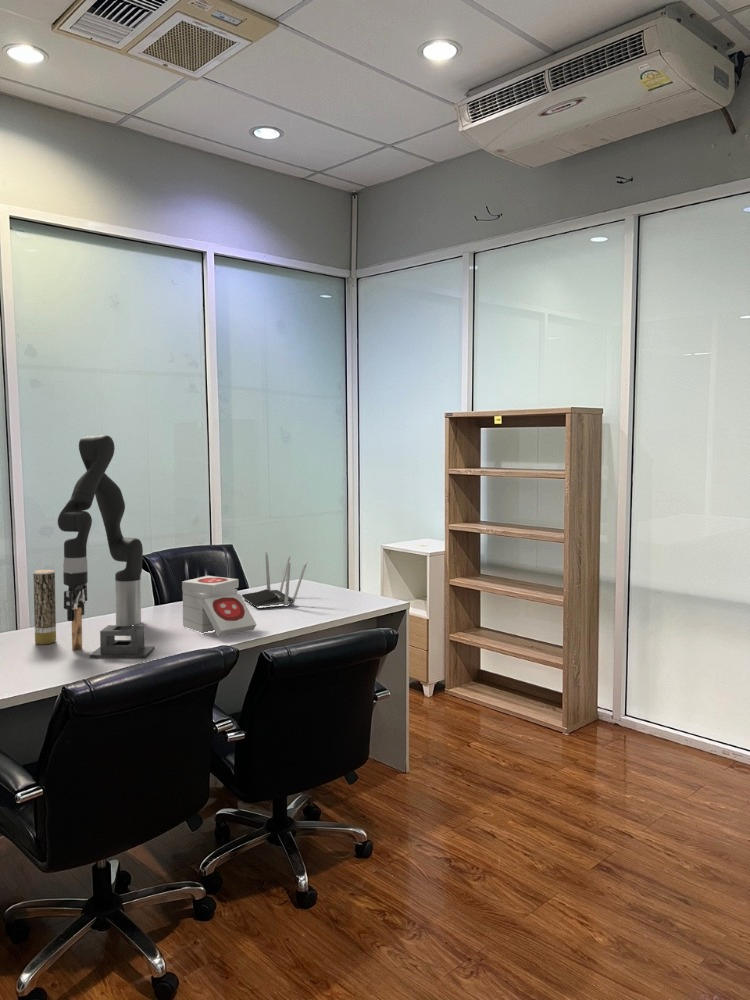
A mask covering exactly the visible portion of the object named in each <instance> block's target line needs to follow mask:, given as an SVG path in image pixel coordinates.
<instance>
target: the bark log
mask: <svg viewBox="0 0 750 1000" xmlns="http://www.w3.org/2000/svg"><path fill="white" fill-rule="evenodd" d="M32 573H33V575H32V576H33V612H34V613H33V614H34V618H33V619H34V622H33V623H34V642H35V644H37V645H50V644H54V643H56V641H57V614H56V606H57V605H56V572H55V569H39V570H38V569H37V570H34V571H33V572H32ZM53 642H54V643H53Z"/></svg>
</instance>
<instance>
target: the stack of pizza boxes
mask: <svg viewBox="0 0 750 1000" xmlns="http://www.w3.org/2000/svg"><path fill="white" fill-rule="evenodd" d="M239 584H240V583H239V578H230V577H223V576H222V577H221V576H215V575H214V576H213V575H204V576H200V577H196V578H193V579H188V580H184V581H181V591H182V627H183V626H184V627H183V628H185V627H187V628H190V629H193V630H196V631H199V632H201V633H204V632H208V631H213V630H215V631H216V632H215V634H216V635H217V637H223V636H227V635H228V636H229V635H234V634H238V633H245V632H251V631H254V630H255V628H256V627H257V623H256V621H255V620H254V617H253V616H252V614H251V612H250V610H249V608H248V607H247V604H246V603H245V602H244V598H243V597H242V595H241V594H240V593H238V588H239ZM187 628H186V629H187ZM190 629H189V630H190ZM193 630H192V631H193Z"/></svg>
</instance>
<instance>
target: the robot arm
mask: <svg viewBox="0 0 750 1000" xmlns="http://www.w3.org/2000/svg"><path fill="white" fill-rule="evenodd" d="M115 448H116V447H115V442H114V440H113V438H112V437H111V436H109V435H107V434H105V435H102V434H100V435H99V434H98V435H88V436H87V435H86V436H82V437H81V438H80V439H79V441H78V450H79V454H80V458H81V461H82V463H83V466H84V467H85V470H86V471H85V473H84V474H82V475H81V476H80V477H79V478H78V480H77V481H76V483H75V485H74V487H73V490H72V494H71V497H70V498H69V501H67V503H66V504H65V506H64V507H62V510H61V511H60V513H59V515H58V517H57V526H58V528H59V530H61V532H67V533H68V532H69V533H71V532H72V533H73V532H74V533H77V536H76V537H74V538H67V539H66V540H65V541H64V544H63V563H62V564H63V565H62V566H63V567H62V569H63V585H64V586H68V589H67V590H64V591H63V610H67V611H66V619H67V621H68V622H72V621H74V620H75V610H74V609H75V607H81V608H82V616H84V615H85V605H86V602H87V601H88V583H89V582H88V559H87V557H88V556H87V545H88V544H87V543H88V538H89V534H90V531H91V528H92V524H93V519H92V516H91V513H89V512H88V511H87V510H89V509H91V507H92V505H93V502H94V498H95V500H96V503H97V506H98V509H99V512H100V516H101V519H102V522H103V526H104V529H105V535H106V540H107V544H108V545H107V546H108V550H109V554H110V556H111V558H112V559H113V560H114V561H116V562H121V563H122V562H123V563H125V568H124V569H122V570H119V571H117V572H116V573H115V577H114V581H115V585H114V586H115V625H130V626H132V625H134V626H138V625H141V624H142V592H141V591H142V590H141V589H142V588H141V587H142V586H141V585H142V584H141V583H142V582H141V578H142V577H141V576H142V571H143V558H144V557H143V556H144V554H143V553H144V551H143V550H144V548H143V543H142V541H141V540H140V539H139V538H136V537H135V538H134V537H125V536H124V535H123V533H122V530H121V521H122V519H123V516H124V514H125V509H126V503H125V499H124V496H123V493H122V490H121V488H120V487H119V486H118V484H117V483H116V482H115V481H114V480H113V479H112V478H110V476H109V475H107V474H106V471H107V469H108V467H109V465H110V463H111V461H112V460H113V458H114V454H115ZM137 624H138V625H137Z"/></svg>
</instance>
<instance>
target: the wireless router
mask: <svg viewBox="0 0 750 1000" xmlns="http://www.w3.org/2000/svg"><path fill="white" fill-rule="evenodd" d="M264 555H265V570H266V572H265V574H266V576H265V577H266V588H265V589H263V590H259V591H256V592H249V593H243V594H242V595H241V597H242V598H243V600H245V599H246V600H247V601H249V602H250V603H252V604H253V605H255V606H256V607H259V606H270V605H279V604H284V605H288V604H290V605H291V604H292V603H295V601H296V598H297V595H298V592H299V588H300V587H301V583H302V581H303V577H304V575H305V574H304V573H305V572H306V571H305V570H306V568H307V565H308V561H306V562H304V564H303V567H302V569H301V573H300V575H299V579H298V582H297V585H296V587H295V591H294V594H293V597H290V596H289V595H290V594H289V593H290V578H291V562H290V560H291V555H292V554H289V556H287V559H286V563H285V567H284V571H283V574H282V575H283V576H282V578H281V579H282V580H281V583H280V587H279V588H280V589H279V590H278V589H271V579H270V578H271V577H270V567H269V566H270V565H269V564H270V563H269V554H268V552H267V551H266V552H265V554H264ZM284 584H285V588H284ZM283 589H285V591H284V592H285V593H283ZM246 600H245V601H246ZM247 601H246V602H247ZM249 602H248V603H249ZM250 603H249V604H250ZM252 604H251V605H252ZM253 605H252V606H253ZM256 607H255V608H256Z"/></svg>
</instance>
